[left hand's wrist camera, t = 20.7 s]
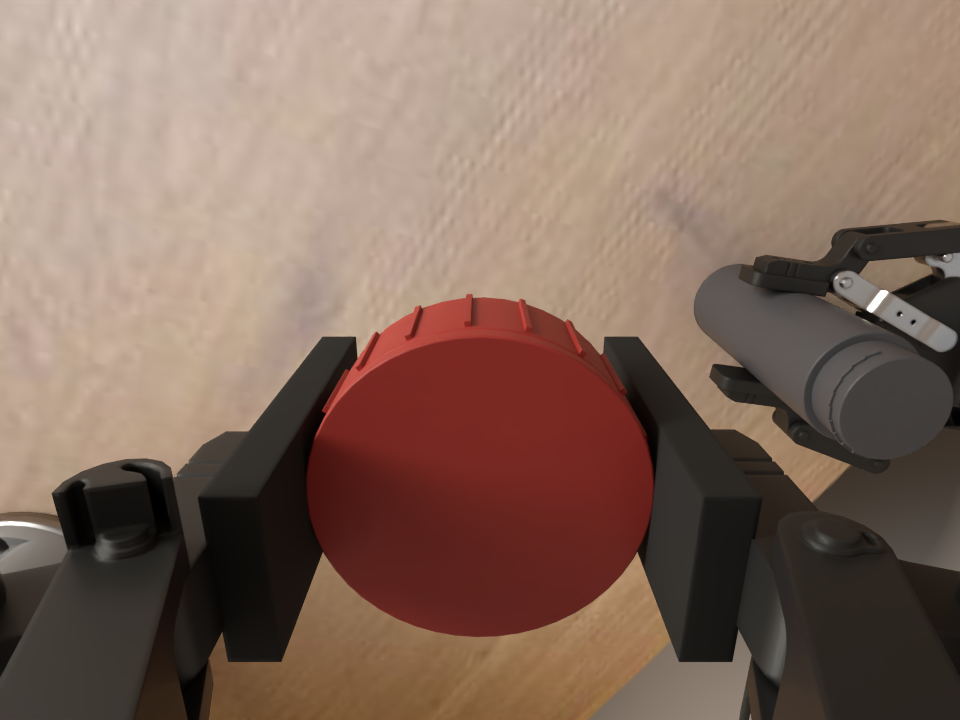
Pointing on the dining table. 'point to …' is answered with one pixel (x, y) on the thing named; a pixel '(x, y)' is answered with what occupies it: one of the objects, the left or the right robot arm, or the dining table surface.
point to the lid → (480, 470)
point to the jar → (828, 365)
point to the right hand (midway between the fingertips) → (731, 326)
